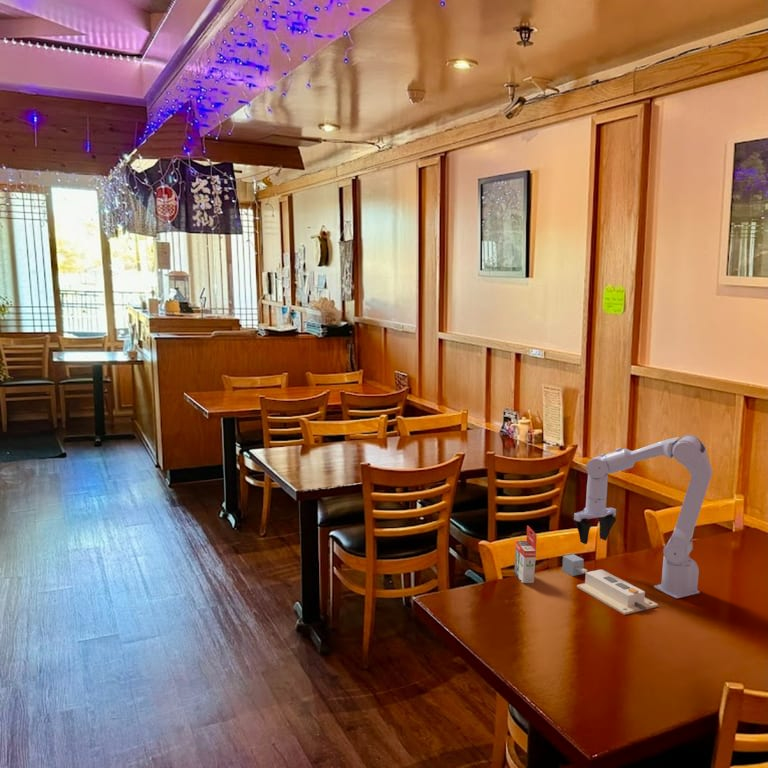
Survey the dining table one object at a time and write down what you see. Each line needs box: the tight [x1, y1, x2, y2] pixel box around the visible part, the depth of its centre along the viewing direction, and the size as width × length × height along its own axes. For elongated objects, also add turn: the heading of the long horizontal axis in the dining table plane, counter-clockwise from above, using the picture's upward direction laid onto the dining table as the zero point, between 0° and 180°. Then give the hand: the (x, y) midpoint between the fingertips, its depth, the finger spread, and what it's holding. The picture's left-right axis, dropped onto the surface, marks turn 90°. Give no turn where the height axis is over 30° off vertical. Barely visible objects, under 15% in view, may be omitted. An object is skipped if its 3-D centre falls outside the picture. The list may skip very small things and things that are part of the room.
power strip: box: [576, 569, 659, 615], centre depth 184 cm, size 12×19×4 cm, turn 26°
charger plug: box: [561, 553, 588, 577], centre depth 199 cm, size 4×8×4 cm, turn 26°
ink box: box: [513, 525, 537, 584], centre depth 195 cm, size 4×8×15 cm, turn 7°
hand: (593, 541), depth 200 cm, fingers open, 7 cm apart
